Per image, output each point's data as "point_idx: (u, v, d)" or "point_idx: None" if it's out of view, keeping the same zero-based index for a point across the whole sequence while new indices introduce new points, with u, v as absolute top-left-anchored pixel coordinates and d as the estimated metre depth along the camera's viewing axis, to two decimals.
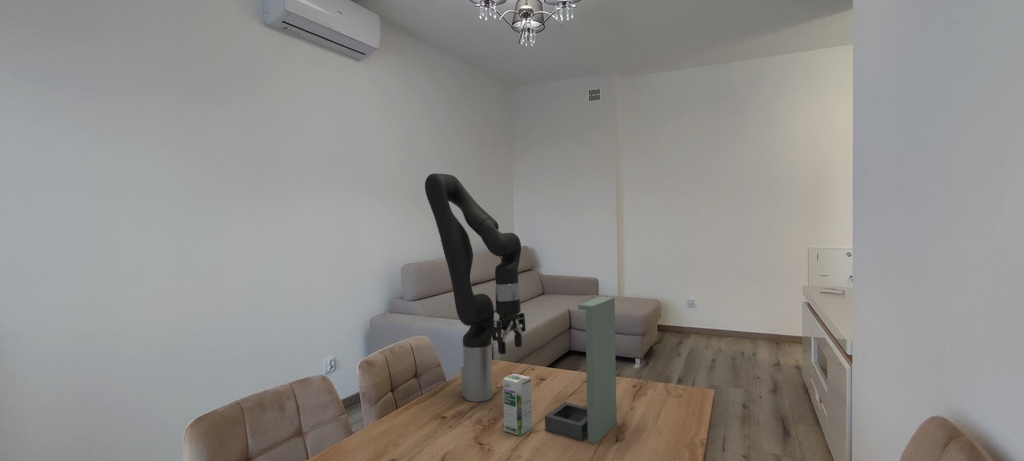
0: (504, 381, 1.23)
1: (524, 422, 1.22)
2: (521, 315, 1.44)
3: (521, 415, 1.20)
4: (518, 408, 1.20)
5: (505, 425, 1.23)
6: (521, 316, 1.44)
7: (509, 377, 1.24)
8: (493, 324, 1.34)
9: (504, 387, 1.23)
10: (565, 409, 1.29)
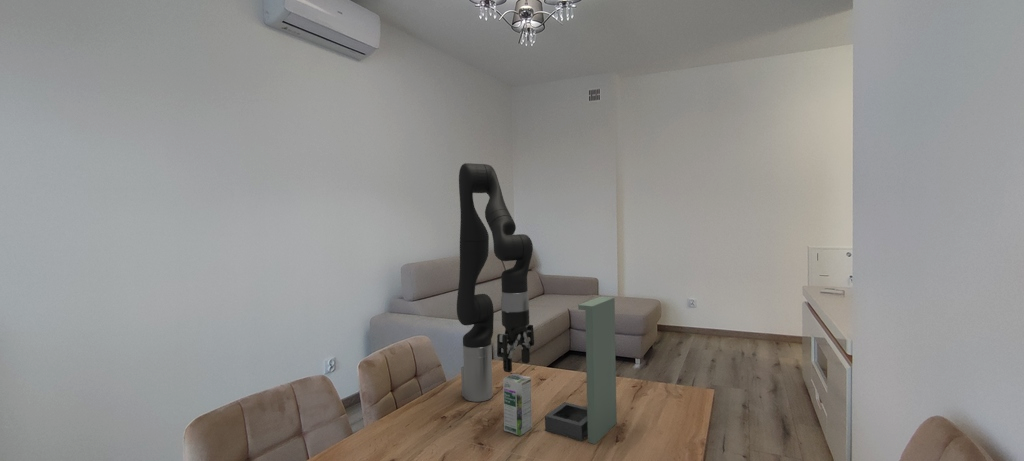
0: (504, 381, 1.23)
1: (524, 422, 1.22)
2: (529, 327, 1.27)
3: (521, 415, 1.20)
4: (518, 408, 1.20)
5: (505, 425, 1.23)
6: (529, 328, 1.27)
7: (509, 377, 1.24)
8: (498, 338, 1.18)
9: (504, 387, 1.23)
10: (565, 409, 1.29)
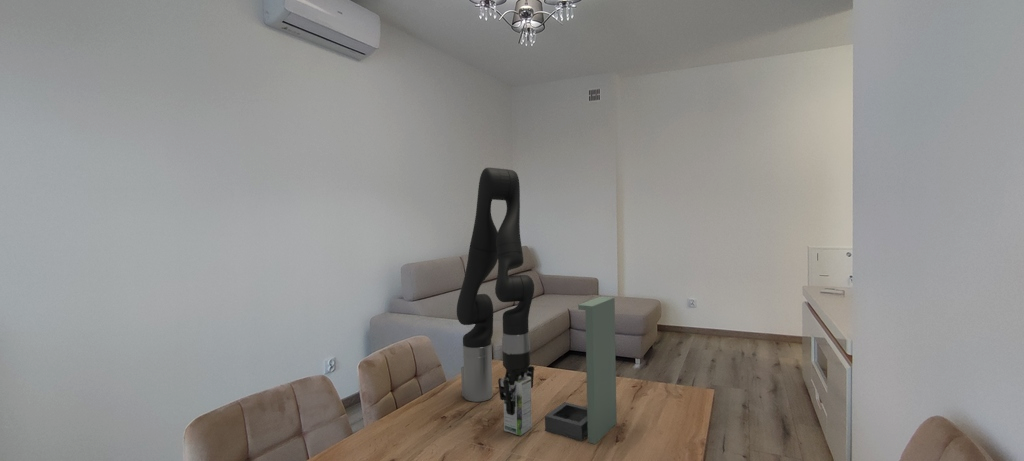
0: None
1: (524, 422, 1.22)
2: (530, 368, 1.28)
3: (521, 415, 1.20)
4: (518, 408, 1.20)
5: (505, 425, 1.23)
6: (530, 370, 1.28)
7: None
8: (499, 383, 1.18)
9: None
10: (565, 409, 1.29)
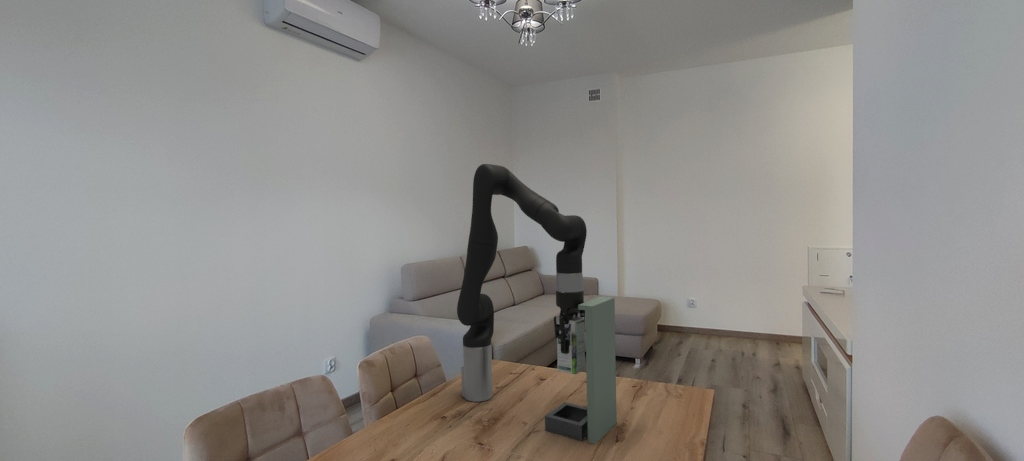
0: None
1: (579, 361, 1.22)
2: (582, 310, 1.28)
3: (576, 353, 1.20)
4: (573, 346, 1.20)
5: (559, 365, 1.23)
6: (582, 312, 1.27)
7: None
8: (555, 321, 1.18)
9: None
10: (565, 409, 1.29)
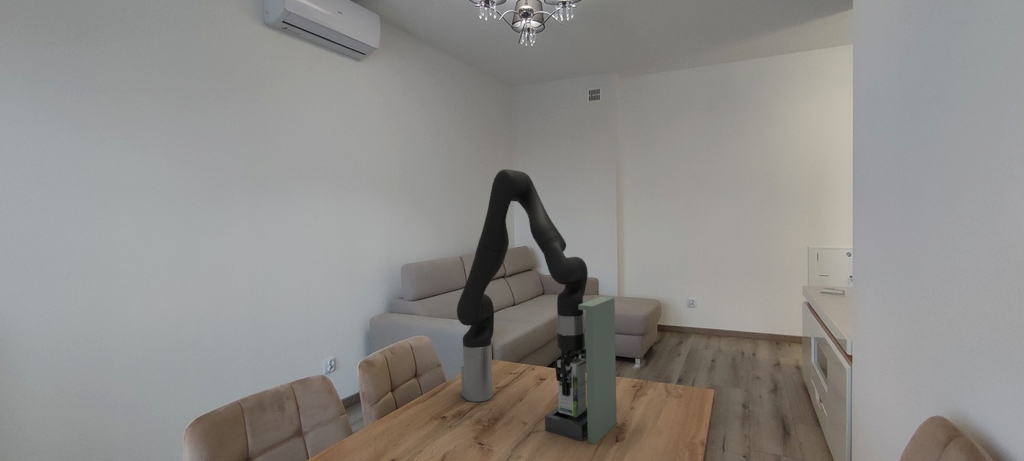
0: None
1: (580, 403, 1.22)
2: (583, 351, 1.28)
3: (577, 396, 1.21)
4: (575, 389, 1.20)
5: (560, 407, 1.23)
6: (583, 352, 1.28)
7: None
8: (556, 364, 1.19)
9: None
10: None
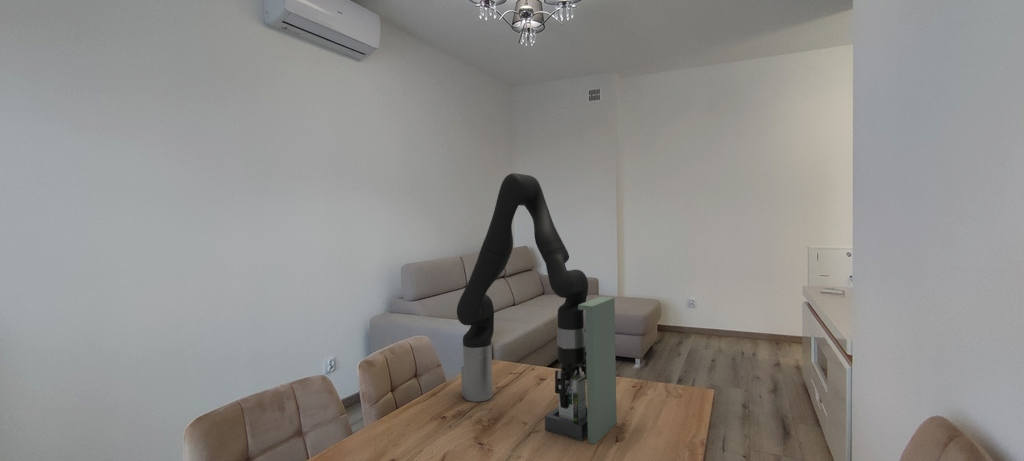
0: None
1: (580, 420, 1.22)
2: (583, 361, 1.28)
3: (577, 412, 1.21)
4: (575, 406, 1.21)
5: None
6: (583, 362, 1.28)
7: None
8: (556, 375, 1.19)
9: (559, 385, 1.23)
10: None
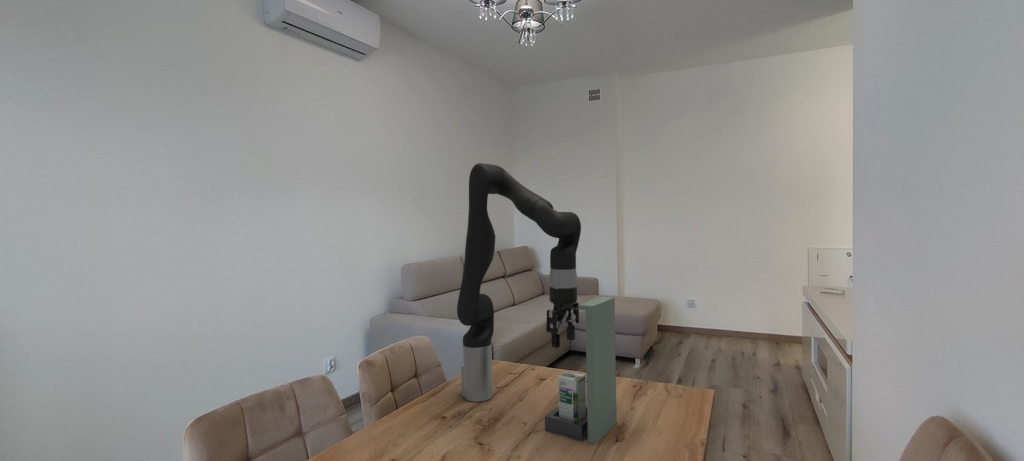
0: (559, 379, 1.23)
1: (580, 420, 1.22)
2: (575, 305, 1.28)
3: (577, 413, 1.21)
4: (575, 406, 1.21)
5: None
6: (575, 306, 1.28)
7: (564, 375, 1.24)
8: (548, 314, 1.19)
9: (559, 385, 1.23)
10: None
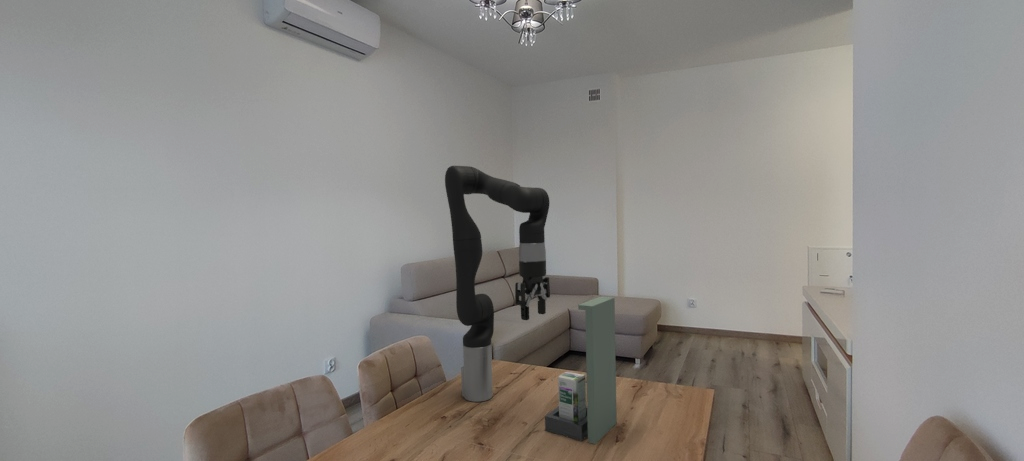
0: (559, 379, 1.23)
1: (580, 420, 1.22)
2: (546, 279, 1.31)
3: (577, 413, 1.21)
4: (575, 406, 1.21)
5: None
6: (545, 280, 1.31)
7: (564, 375, 1.24)
8: (516, 286, 1.21)
9: (559, 385, 1.23)
10: None
